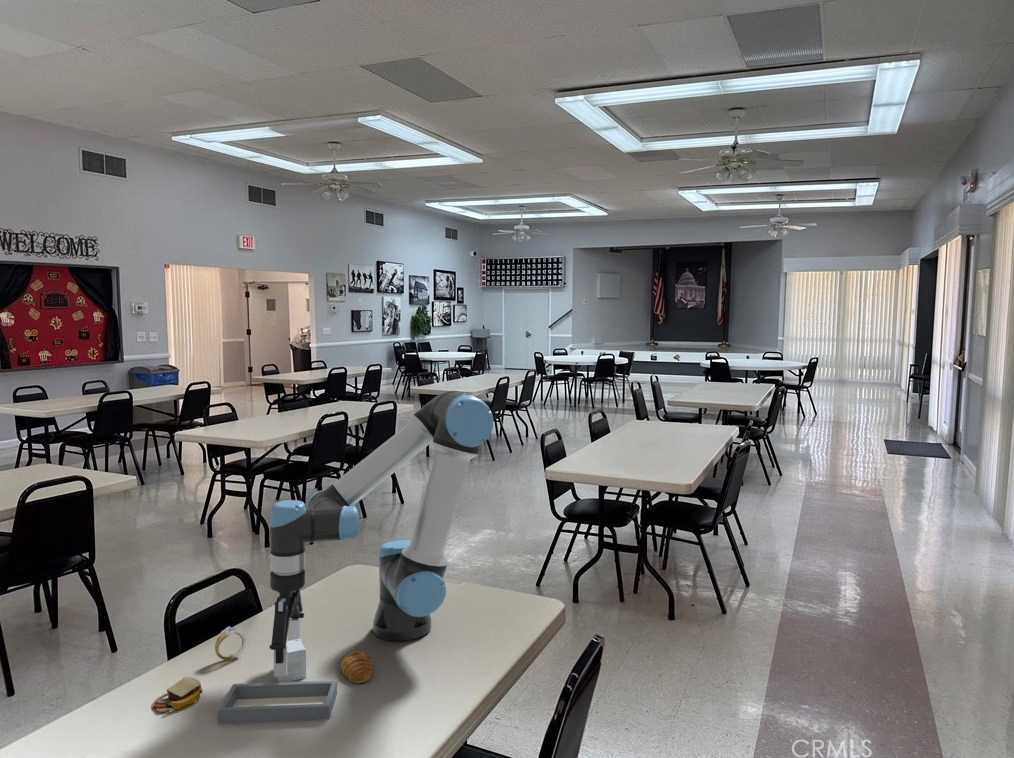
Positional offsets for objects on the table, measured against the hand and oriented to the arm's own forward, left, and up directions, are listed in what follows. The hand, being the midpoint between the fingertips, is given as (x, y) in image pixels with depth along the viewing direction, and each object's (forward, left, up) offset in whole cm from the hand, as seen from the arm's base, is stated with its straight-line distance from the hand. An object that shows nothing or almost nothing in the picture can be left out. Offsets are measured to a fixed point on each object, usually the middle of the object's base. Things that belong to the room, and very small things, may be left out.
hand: (287, 660), depth 160 cm
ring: (+16, -9, -4) cm, 18 cm away
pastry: (-14, +3, -5) cm, 15 cm away
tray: (-1, +14, -4) cm, 14 cm away
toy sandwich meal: (+21, +9, -5) cm, 23 cm away
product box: (0, 0, -4) cm, 4 cm away
